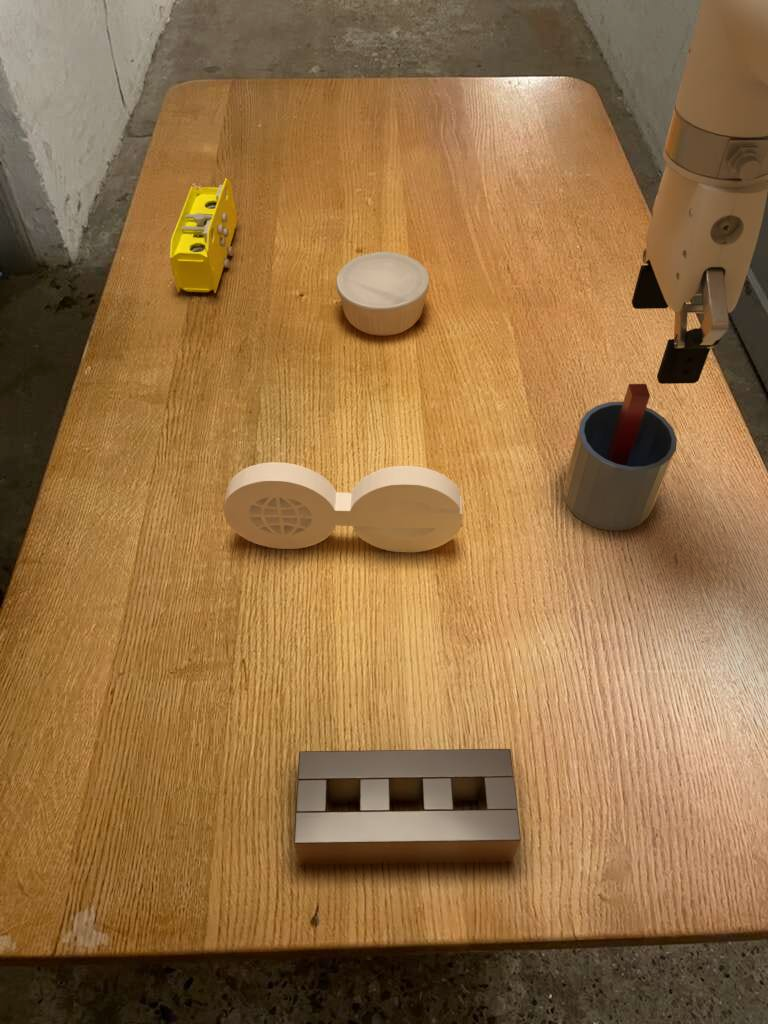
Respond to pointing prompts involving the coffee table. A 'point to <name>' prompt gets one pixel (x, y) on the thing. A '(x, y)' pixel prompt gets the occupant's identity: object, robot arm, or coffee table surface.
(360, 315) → the ramekin
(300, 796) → the holder
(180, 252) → the yellow toy chassis
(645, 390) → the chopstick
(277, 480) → the contact lens case
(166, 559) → the coffee table surface
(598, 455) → the cup
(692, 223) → the robot arm
